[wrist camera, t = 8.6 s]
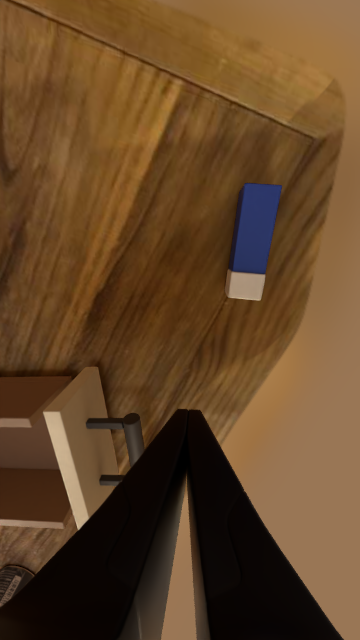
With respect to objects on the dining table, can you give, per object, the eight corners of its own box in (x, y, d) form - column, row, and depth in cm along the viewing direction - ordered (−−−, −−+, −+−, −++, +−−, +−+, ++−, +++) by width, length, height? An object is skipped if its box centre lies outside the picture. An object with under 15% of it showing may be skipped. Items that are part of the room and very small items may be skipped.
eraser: (238, 191, 16) (244, 182, 14) (272, 193, 16) (283, 184, 14) (224, 291, 18) (227, 297, 16) (253, 294, 18) (261, 300, 16)
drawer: (145, 365, 20) (123, 411, 14) (159, 473, 23) (146, 543, 18) (-86, 370, 22) (-181, 411, 17) (-40, 467, 26) (-105, 527, 20)
